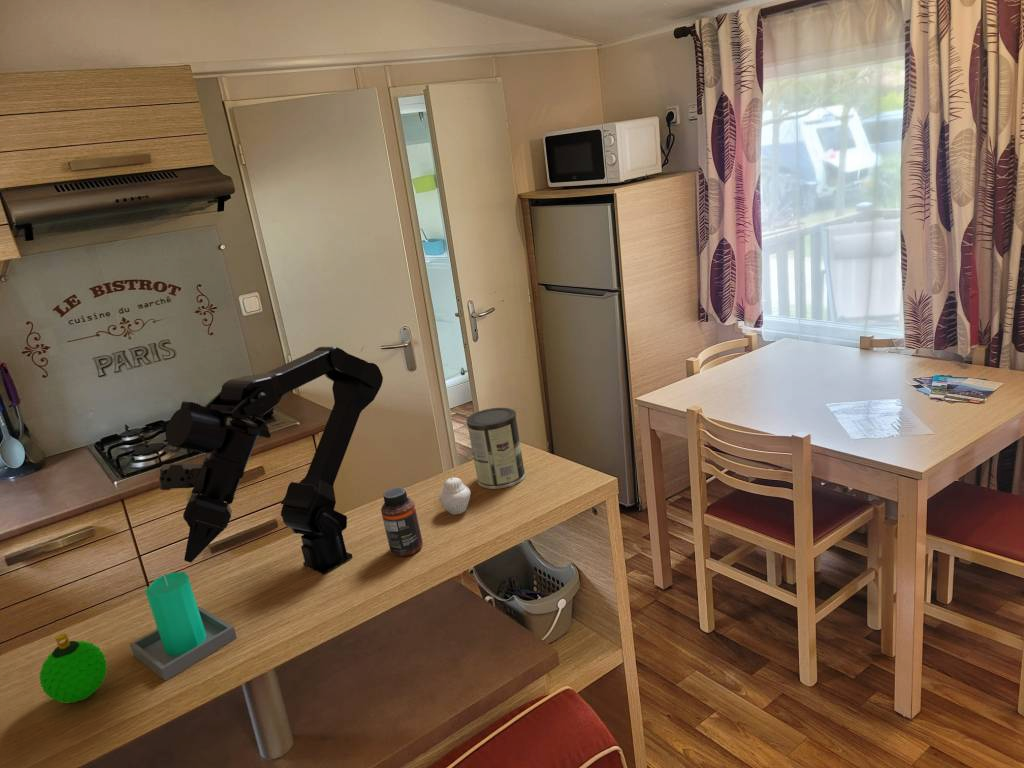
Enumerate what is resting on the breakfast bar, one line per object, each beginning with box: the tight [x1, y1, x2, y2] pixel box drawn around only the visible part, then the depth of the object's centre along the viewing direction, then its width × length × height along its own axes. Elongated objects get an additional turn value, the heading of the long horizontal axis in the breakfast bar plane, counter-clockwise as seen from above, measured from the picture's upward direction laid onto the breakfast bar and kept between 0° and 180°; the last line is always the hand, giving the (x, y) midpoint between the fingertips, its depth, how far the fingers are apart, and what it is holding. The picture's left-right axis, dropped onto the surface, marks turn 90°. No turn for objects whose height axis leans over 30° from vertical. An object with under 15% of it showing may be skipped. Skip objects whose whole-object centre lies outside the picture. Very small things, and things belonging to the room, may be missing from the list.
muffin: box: [438, 477, 471, 516], centre depth 144 cm, size 6×6×7 cm
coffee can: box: [465, 407, 526, 490], centre depth 155 cm, size 10×10×14 cm
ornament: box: [39, 632, 108, 704], centre depth 104 cm, size 8×8×10 cm
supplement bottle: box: [380, 486, 424, 557], centre depth 132 cm, size 6×6×11 cm
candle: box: [145, 571, 206, 655], centre depth 112 cm, size 6×6×12 cm
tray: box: [129, 605, 237, 682], centre depth 114 cm, size 11×11×2 cm
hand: (190, 552), depth 115 cm, fingers open, 9 cm apart
